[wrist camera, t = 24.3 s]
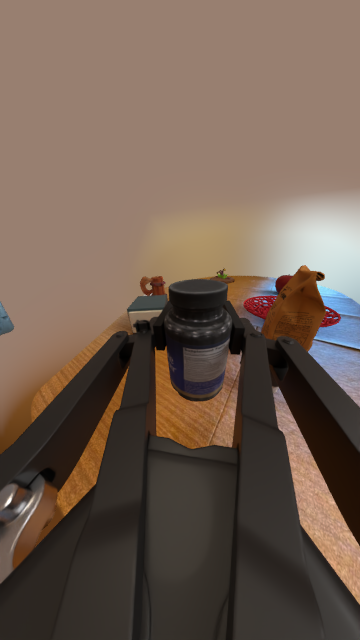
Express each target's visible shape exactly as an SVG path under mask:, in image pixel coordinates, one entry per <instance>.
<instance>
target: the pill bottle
mask: <svg viewBox="0 0 360 640" xmlns="http://www.w3.org/2000/svg"><path fill="white" fill-rule="evenodd" d="M227 291H228V285H227V284H226V283H224V282H221V281H216V280H207V279H192V280H184V281H179V282H175V283H173V284H171V285H170V286H169V301H170V303H171V305H173V308H172V309H171V310H170V311H169V312H168V313H167V315H166V316H165V319H164V329H165V337H166V346H167V354H168V362H169V371H170V379H171V384H172V386H173V388H174V389H175V390H176V391H177V392H178V393H179V395H180V396H182V397H183V398H185V399H187V400H190V401H207V400H210V399H212V398H214V397H215V396H216V395H217V394H218V393H219V391H220V390H221V389H222V385H223V381H224V374H225V368H226V362H227V356H228V349H229V343H230V337H231V331H232V319H231V317H230V315H229V313H228V312H227V311H226V310H225V309H223V305H224V304H225V303H226V300H227Z"/></svg>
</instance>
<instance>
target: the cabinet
mask: <svg viewBox="0 0 360 640" xmlns="http://www.w3.org/2000/svg"><path fill="white" fill-rule="evenodd" d="M167 302H168V300H167V295H156V296H140V297H137V299H136V300H135V301H134V302H133V303H132V304H131V305H130V307H129V308H128V309H127V311H128V313H129V312H133V311H147V310H163V309H164V307H165V306H166V304H167ZM128 316H129V314H128ZM129 320H130V318H129ZM130 323H131V322H130ZM131 327H132V326H131ZM132 331H133V330H132Z"/></svg>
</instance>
